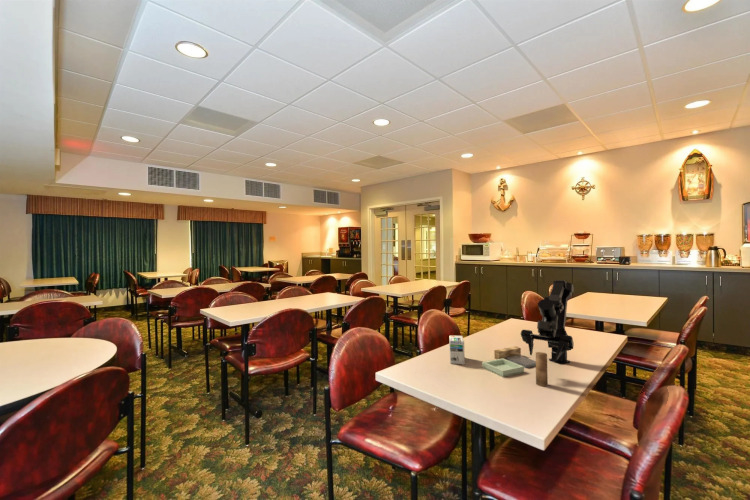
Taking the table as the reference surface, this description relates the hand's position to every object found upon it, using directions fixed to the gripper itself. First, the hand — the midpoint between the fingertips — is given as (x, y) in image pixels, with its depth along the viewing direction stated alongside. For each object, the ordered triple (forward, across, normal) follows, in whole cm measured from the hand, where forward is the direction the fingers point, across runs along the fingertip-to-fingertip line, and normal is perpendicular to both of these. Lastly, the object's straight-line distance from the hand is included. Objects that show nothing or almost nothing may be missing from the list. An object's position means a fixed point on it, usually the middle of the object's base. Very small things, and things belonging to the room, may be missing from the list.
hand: (543, 357), depth 129 cm
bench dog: (-9, -21, +23) cm, 32 cm away
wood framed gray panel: (-6, -13, +20) cm, 25 cm away
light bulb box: (+5, -38, +10) cm, 40 cm away
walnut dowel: (+9, 0, +5) cm, 10 cm away
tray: (+4, -17, +10) cm, 20 cm away
